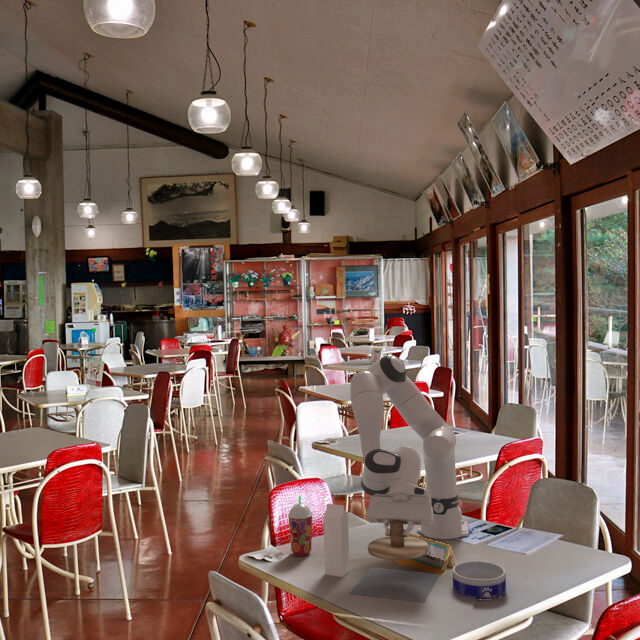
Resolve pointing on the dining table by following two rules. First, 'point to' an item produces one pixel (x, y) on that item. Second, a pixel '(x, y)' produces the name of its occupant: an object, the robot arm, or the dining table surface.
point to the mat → (396, 584)
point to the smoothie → (300, 529)
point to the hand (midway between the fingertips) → (396, 535)
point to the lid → (397, 545)
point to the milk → (336, 540)
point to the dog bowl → (479, 579)
